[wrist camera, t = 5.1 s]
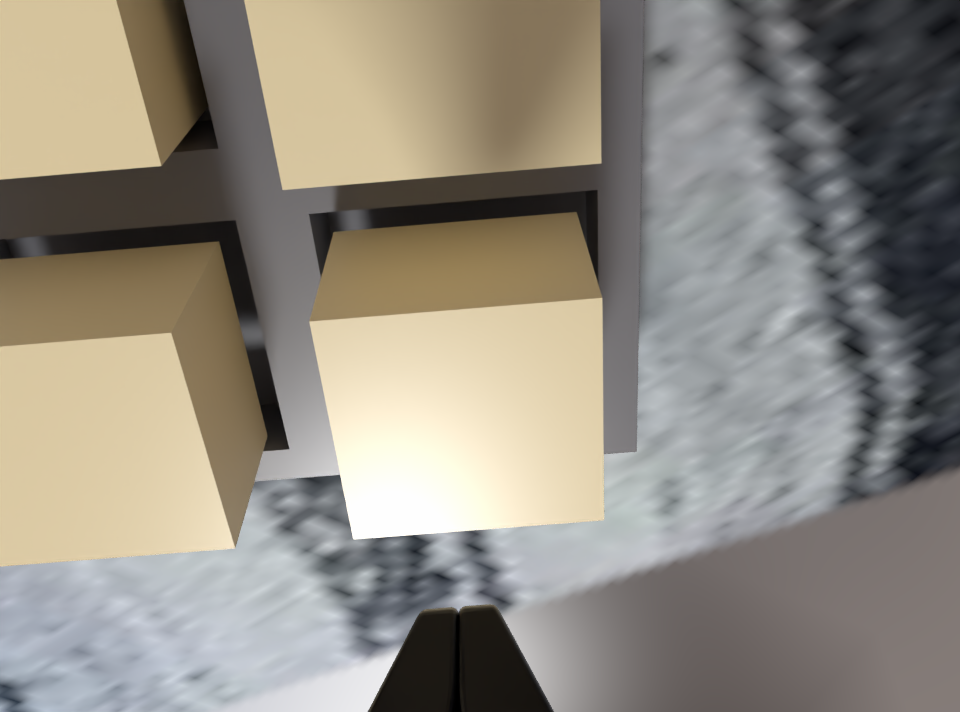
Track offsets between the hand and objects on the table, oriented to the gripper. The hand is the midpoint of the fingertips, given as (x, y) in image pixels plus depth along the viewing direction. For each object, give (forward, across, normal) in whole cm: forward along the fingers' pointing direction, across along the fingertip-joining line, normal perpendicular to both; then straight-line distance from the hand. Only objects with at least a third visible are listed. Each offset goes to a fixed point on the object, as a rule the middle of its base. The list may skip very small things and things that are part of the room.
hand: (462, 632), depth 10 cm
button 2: (+7, +6, 0) cm, 9 cm away
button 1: (+7, 0, 0) cm, 7 cm away
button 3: (+7, 0, -6) cm, 9 cm away
